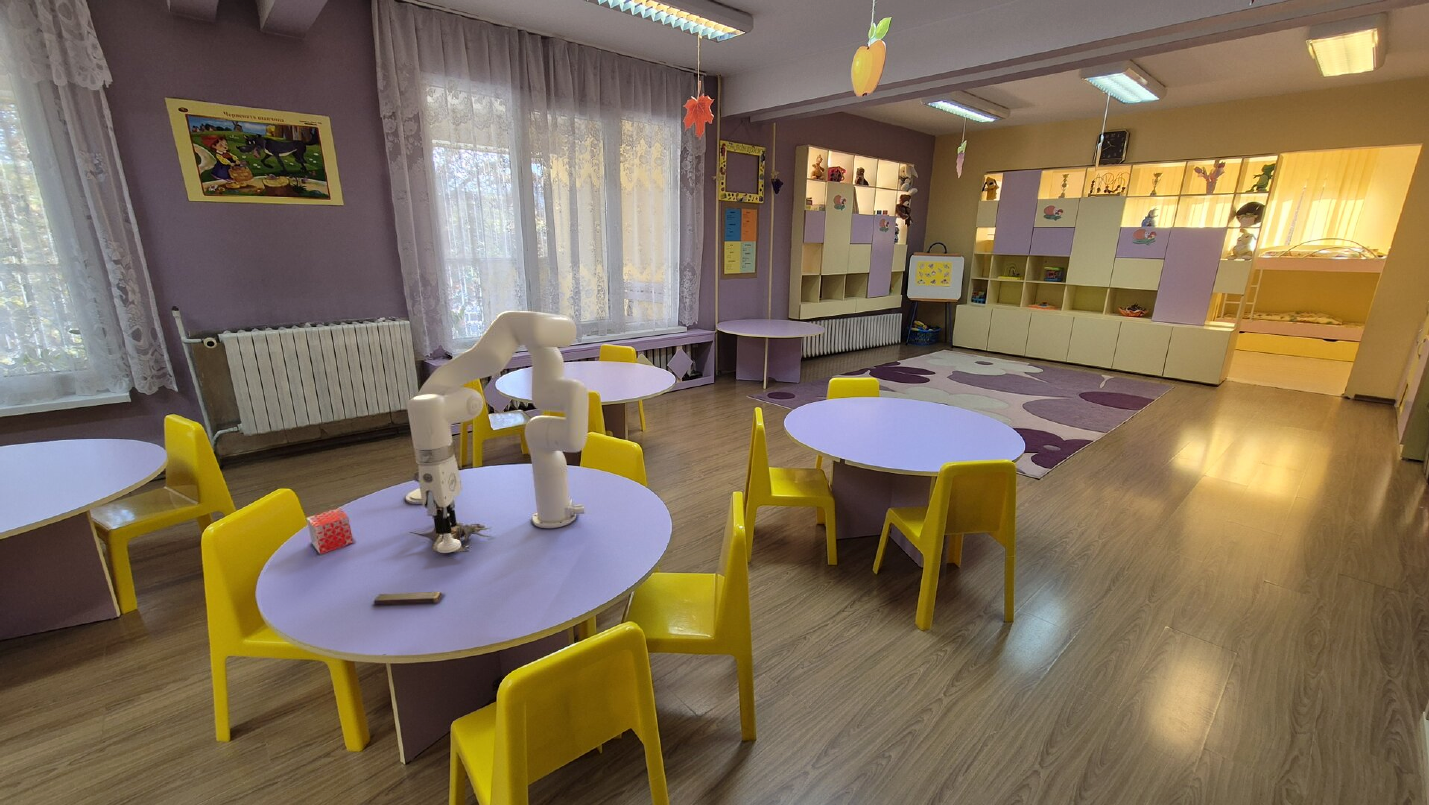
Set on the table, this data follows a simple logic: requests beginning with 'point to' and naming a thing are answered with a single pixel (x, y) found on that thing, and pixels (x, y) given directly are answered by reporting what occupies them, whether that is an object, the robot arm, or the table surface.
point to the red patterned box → (330, 530)
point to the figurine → (455, 534)
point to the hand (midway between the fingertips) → (446, 529)
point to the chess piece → (448, 543)
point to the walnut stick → (408, 598)
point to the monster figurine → (415, 493)
